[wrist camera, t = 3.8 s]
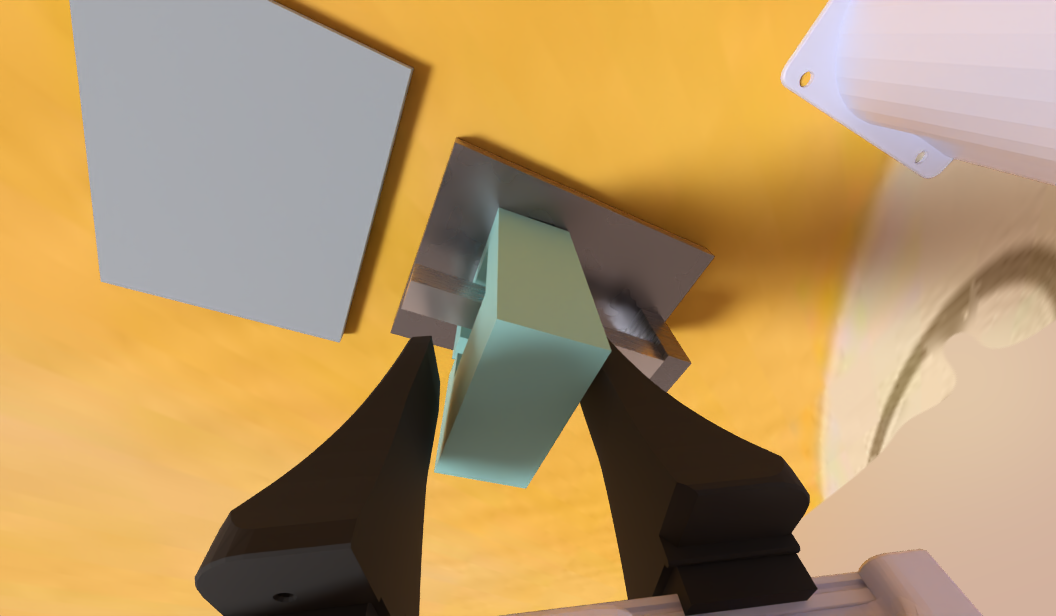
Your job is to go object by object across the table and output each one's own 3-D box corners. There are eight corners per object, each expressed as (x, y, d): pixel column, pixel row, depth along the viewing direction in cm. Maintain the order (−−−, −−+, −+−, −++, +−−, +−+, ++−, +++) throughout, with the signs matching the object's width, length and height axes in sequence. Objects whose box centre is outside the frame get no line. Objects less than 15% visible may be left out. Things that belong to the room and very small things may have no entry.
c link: (569, 231, 16) (611, 351, 10) (518, 342, 19) (526, 488, 13) (498, 207, 16) (496, 318, 9) (457, 326, 19) (434, 472, 12)
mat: (413, 68, 13) (411, 69, 13) (343, 334, 19) (339, 342, 19) (77, -95, 11) (58, -101, 10) (112, 273, 16) (100, 281, 16)
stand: (706, 248, 19) (758, 297, 15) (606, 382, 23) (629, 444, 19) (456, 137, 15) (448, 169, 11) (393, 322, 19) (374, 386, 16)
